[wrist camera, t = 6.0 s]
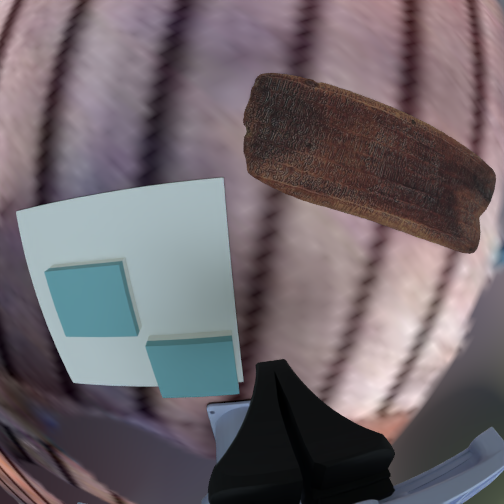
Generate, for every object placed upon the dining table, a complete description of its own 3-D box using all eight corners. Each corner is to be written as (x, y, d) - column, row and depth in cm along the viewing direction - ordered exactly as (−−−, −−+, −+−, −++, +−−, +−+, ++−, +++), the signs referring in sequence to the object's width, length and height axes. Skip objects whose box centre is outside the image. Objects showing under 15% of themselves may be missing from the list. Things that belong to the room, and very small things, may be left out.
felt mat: (243, 378, 26) (243, 381, 25) (74, 380, 24) (73, 382, 24) (223, 177, 20) (223, 177, 20) (18, 210, 19) (16, 211, 18)
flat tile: (238, 382, 25) (239, 393, 24) (164, 386, 25) (162, 397, 23) (231, 329, 23) (232, 341, 22) (149, 335, 23) (145, 346, 21)
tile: (137, 336, 21) (66, 336, 20) (141, 325, 22) (72, 327, 22) (119, 264, 19) (44, 271, 19) (125, 257, 21) (53, 264, 20)
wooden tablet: (225, 184, 19) (264, 45, 15) (225, 178, 21) (261, 53, 17) (476, 260, 24) (508, 175, 20) (464, 252, 26) (494, 170, 22)
